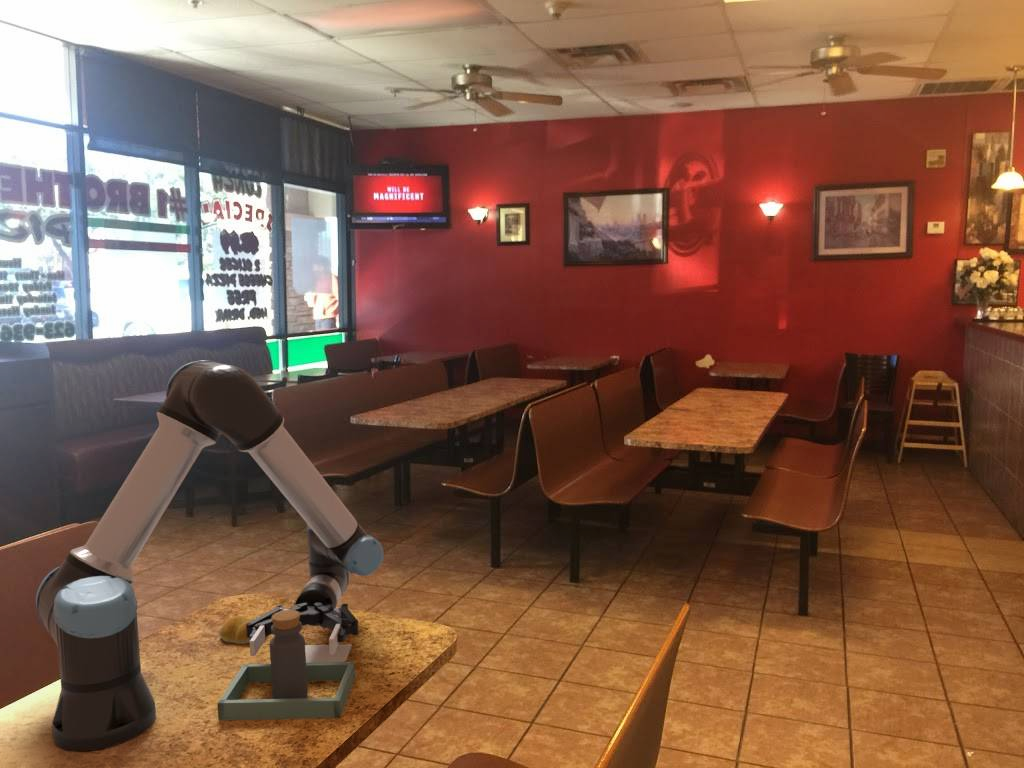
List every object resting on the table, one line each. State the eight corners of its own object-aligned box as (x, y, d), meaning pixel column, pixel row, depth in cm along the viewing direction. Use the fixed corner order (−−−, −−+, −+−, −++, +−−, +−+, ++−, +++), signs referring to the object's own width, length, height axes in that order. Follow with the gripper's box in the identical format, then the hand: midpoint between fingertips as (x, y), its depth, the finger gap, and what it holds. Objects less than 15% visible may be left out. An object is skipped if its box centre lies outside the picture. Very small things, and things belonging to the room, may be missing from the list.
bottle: (298, 708, 140) (294, 622, 139) (266, 705, 142) (261, 620, 140) (313, 691, 146) (309, 609, 144) (282, 688, 147) (278, 607, 145)
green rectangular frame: (218, 720, 137) (217, 703, 136) (244, 679, 151) (243, 664, 150) (340, 717, 137) (339, 700, 137) (355, 677, 151) (354, 661, 151)
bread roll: (252, 647, 165) (251, 628, 164) (213, 642, 167) (212, 623, 167) (275, 630, 173) (274, 612, 172) (237, 626, 175) (236, 608, 175)
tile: (266, 671, 154) (265, 669, 154) (280, 648, 164) (280, 645, 164) (341, 670, 154) (341, 667, 154) (351, 646, 164) (351, 644, 164)
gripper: (382, 617, 165) (365, 666, 144) (255, 620, 165) (220, 670, 144) (380, 581, 164) (363, 625, 143) (253, 583, 164) (217, 628, 143)
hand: (291, 647), depth 143 cm, fingers open, 13 cm apart
